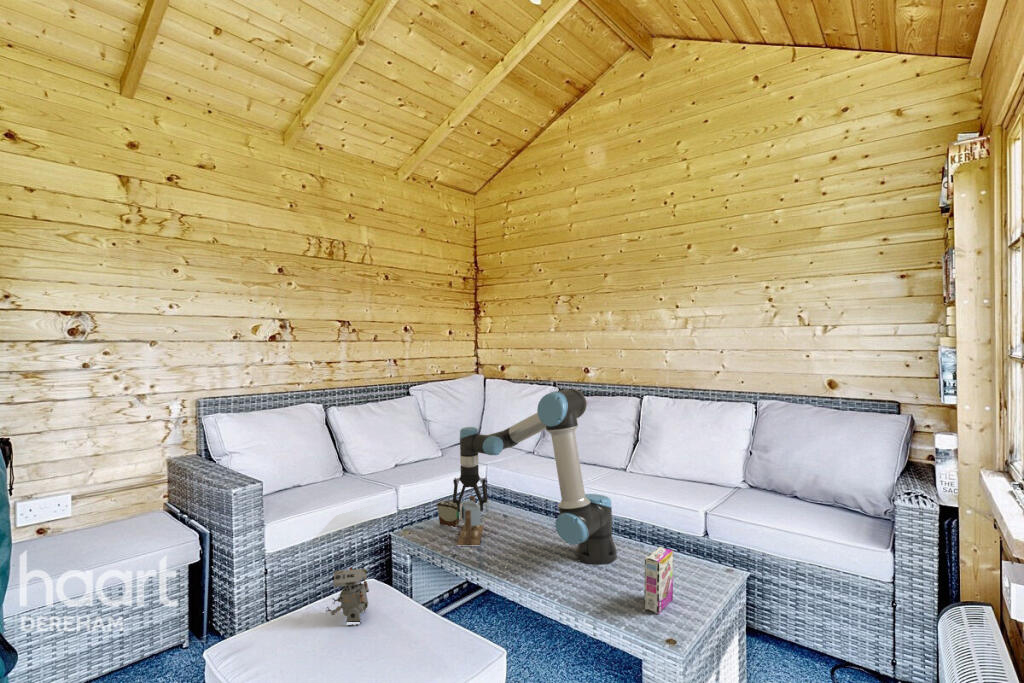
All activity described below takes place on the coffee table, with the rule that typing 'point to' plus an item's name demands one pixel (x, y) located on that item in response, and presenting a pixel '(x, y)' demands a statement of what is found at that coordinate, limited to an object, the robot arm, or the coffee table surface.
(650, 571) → the candy bar box
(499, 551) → the coffee table surface
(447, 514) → the food container
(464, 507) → the shelf board
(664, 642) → the coffee table surface
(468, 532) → the peg stand
